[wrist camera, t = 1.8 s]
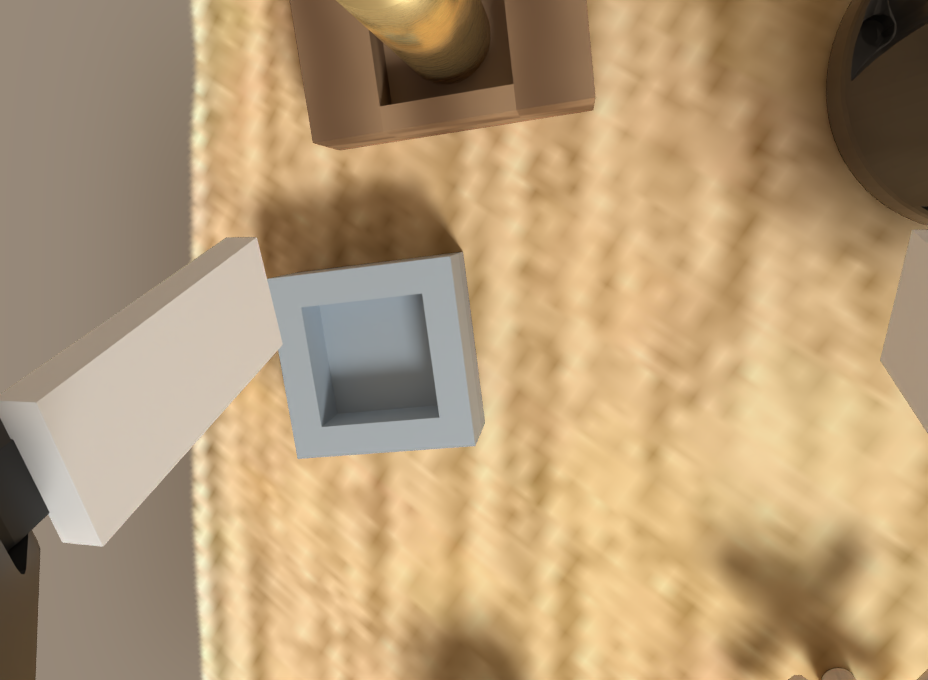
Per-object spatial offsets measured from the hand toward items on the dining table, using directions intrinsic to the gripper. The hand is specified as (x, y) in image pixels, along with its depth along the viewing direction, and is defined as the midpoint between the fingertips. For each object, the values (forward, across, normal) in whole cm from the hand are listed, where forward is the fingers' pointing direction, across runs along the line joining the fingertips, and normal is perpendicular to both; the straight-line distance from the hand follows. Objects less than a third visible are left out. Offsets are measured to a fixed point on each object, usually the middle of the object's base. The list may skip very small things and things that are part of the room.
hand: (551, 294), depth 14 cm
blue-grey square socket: (+20, +11, +13) cm, 26 cm away
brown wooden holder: (+25, +8, -3) cm, 26 cm away
